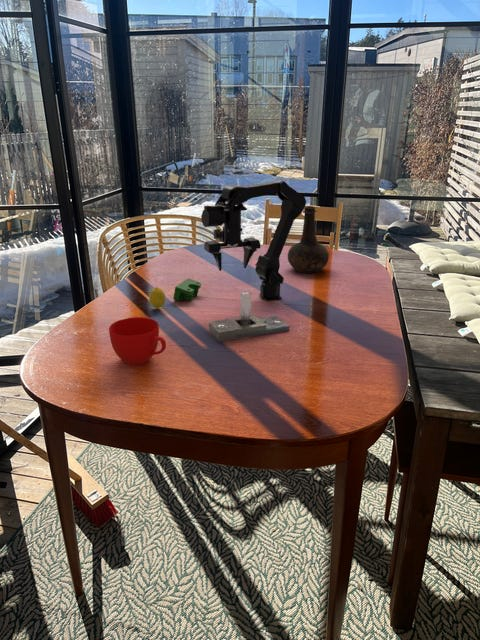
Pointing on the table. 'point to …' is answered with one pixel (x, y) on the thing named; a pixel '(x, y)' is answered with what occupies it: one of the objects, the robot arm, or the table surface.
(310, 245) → the glass bottle
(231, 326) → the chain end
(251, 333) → the plate
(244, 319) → the steel pin
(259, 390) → the table surface
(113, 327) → the ceramic cup
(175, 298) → the clamp
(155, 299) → the lemon
